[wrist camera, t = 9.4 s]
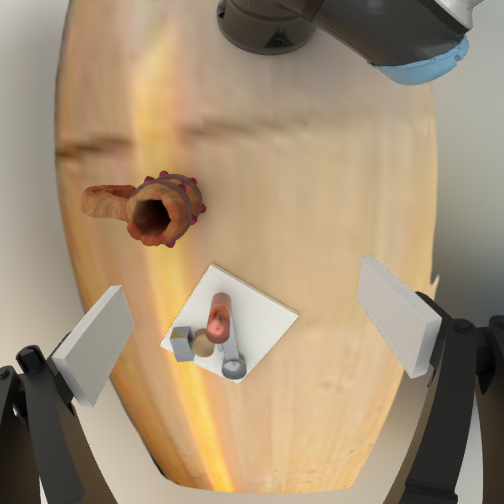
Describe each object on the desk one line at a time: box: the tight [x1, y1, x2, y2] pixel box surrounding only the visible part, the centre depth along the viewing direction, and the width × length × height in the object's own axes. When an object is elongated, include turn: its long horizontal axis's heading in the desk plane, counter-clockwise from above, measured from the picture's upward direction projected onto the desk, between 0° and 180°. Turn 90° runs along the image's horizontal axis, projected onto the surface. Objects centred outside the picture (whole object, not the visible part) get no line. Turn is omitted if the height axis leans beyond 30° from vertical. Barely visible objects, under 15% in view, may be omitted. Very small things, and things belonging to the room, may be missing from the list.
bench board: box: [160, 263, 298, 384], centre depth 48 cm, size 19×17×2 cm
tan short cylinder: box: [192, 328, 215, 357], centre depth 46 cm, size 4×4×4 cm
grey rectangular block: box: [170, 326, 195, 362], centre depth 46 cm, size 5×3×4 cm, turn 6°
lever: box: [206, 292, 247, 380], centre depth 41 cm, size 18×4×10 cm, turn 6°
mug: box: [81, 171, 206, 248], centre depth 34 cm, size 15×8×15 cm, turn 74°
